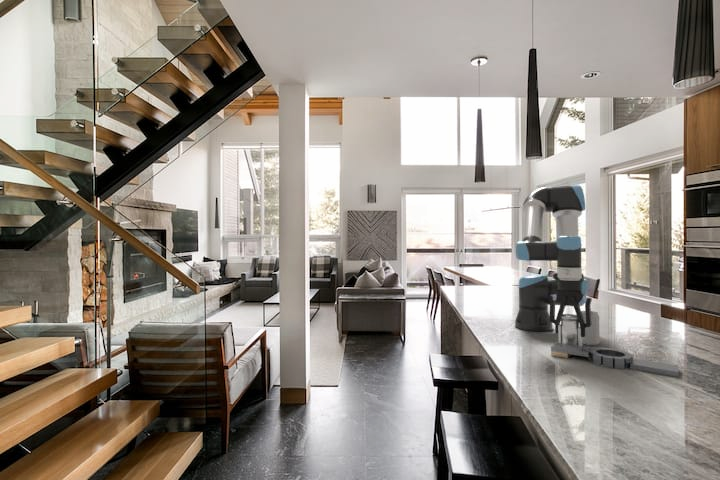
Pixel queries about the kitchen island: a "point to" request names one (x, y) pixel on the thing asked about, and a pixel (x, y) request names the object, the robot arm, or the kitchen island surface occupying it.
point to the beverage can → (591, 329)
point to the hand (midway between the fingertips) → (570, 344)
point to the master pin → (569, 329)
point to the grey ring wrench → (613, 358)
